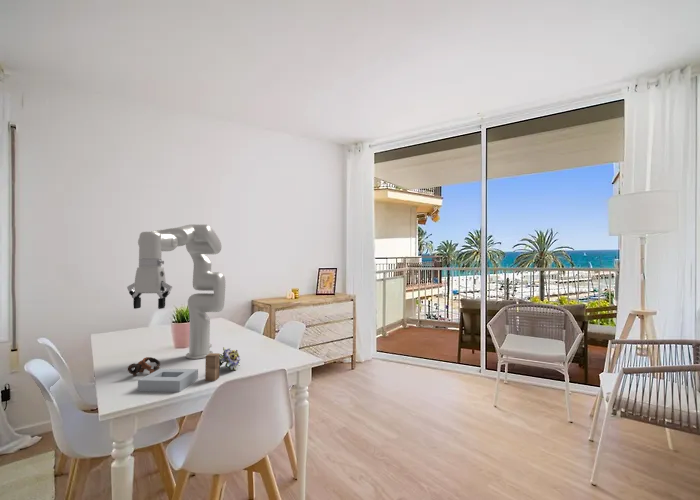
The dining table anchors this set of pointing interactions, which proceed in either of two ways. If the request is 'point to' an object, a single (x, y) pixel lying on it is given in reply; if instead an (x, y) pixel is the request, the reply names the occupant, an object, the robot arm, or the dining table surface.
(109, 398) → the dining table surface
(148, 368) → the dark brown looped piece
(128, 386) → the dining table surface
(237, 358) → the passion flower
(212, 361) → the wood grain block
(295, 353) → the dining table surface
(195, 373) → the well block
